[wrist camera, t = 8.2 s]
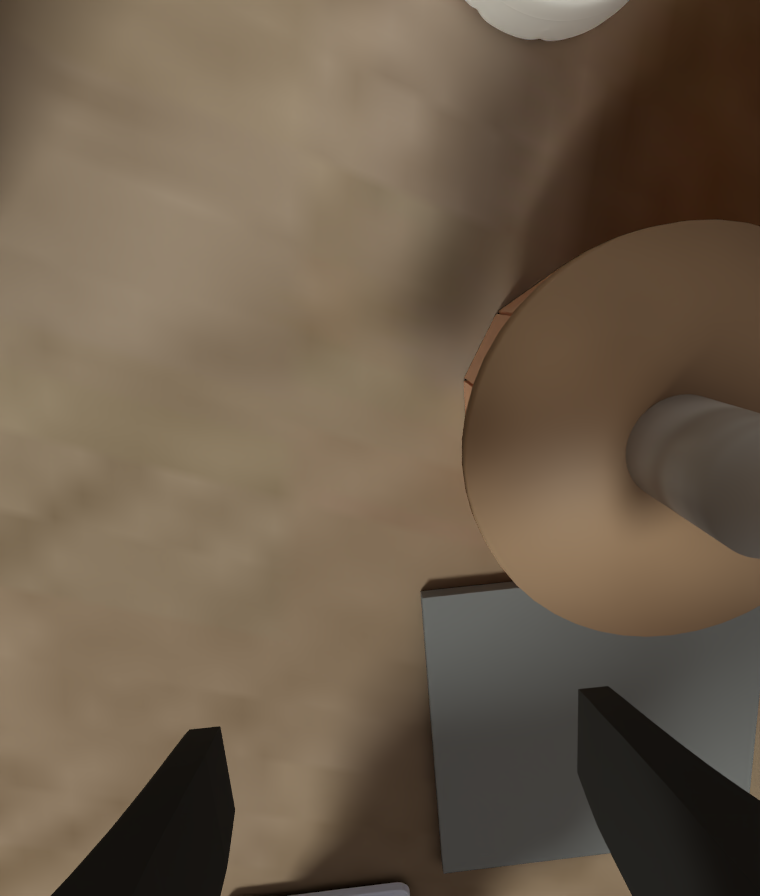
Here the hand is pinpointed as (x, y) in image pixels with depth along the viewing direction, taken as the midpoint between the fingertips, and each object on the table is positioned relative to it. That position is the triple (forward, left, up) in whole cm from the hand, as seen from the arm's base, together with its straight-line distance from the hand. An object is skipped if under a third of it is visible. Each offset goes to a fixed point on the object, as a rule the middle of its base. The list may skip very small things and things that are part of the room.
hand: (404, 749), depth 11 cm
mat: (-8, -8, -10) cm, 15 cm away
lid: (+4, -8, -5) cm, 10 cm away
